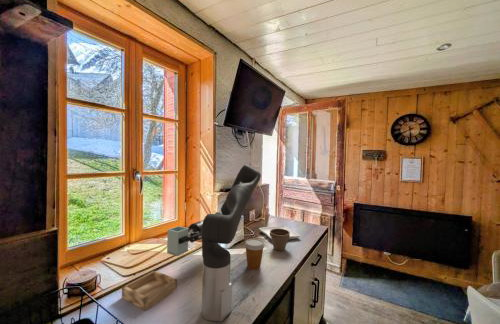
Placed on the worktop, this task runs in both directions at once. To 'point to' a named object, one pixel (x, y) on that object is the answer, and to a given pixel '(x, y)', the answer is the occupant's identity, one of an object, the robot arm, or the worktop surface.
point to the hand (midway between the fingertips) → (173, 239)
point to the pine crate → (149, 289)
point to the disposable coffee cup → (254, 253)
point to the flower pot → (279, 238)
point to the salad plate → (267, 229)
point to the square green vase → (177, 241)
